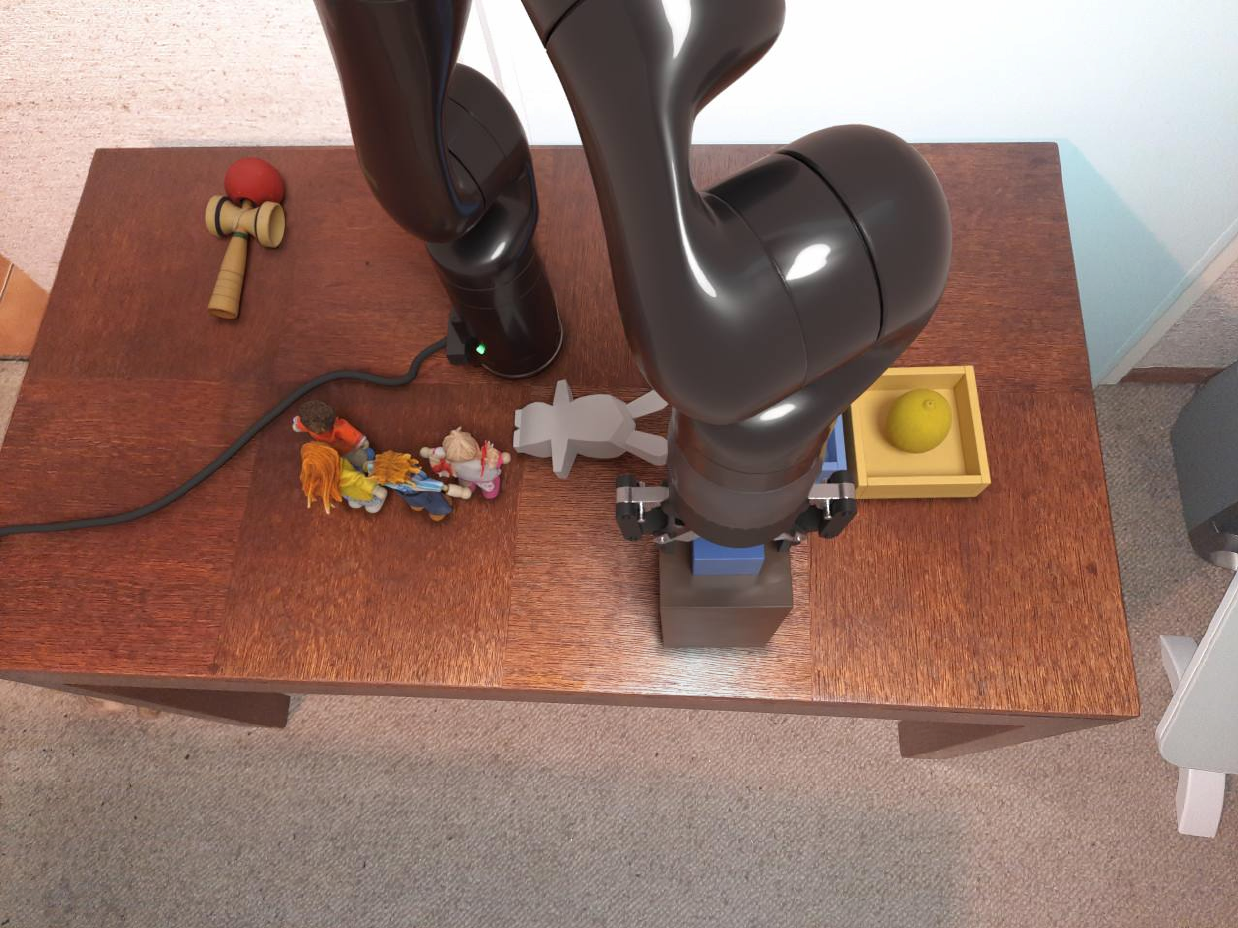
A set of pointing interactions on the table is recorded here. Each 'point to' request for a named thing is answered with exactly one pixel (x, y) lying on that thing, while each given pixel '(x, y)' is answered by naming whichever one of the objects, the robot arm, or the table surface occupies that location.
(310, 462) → the doll family
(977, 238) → the table surface
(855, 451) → the yellow bin
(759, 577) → the stand
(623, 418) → the bunny figurine
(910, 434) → the lemon
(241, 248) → the kendama
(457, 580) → the table surface
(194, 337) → the table surface
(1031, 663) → the table surface
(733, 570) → the blue block
